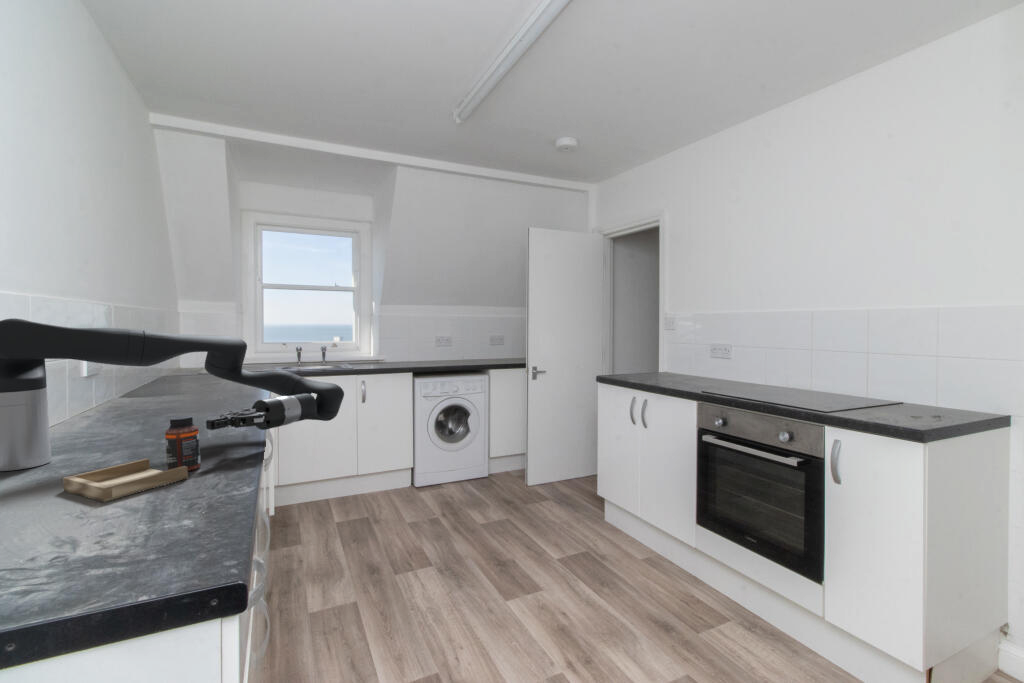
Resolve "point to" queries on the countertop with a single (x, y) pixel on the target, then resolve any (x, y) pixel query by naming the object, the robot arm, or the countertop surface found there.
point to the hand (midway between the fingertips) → (208, 425)
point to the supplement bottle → (182, 443)
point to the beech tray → (121, 480)
